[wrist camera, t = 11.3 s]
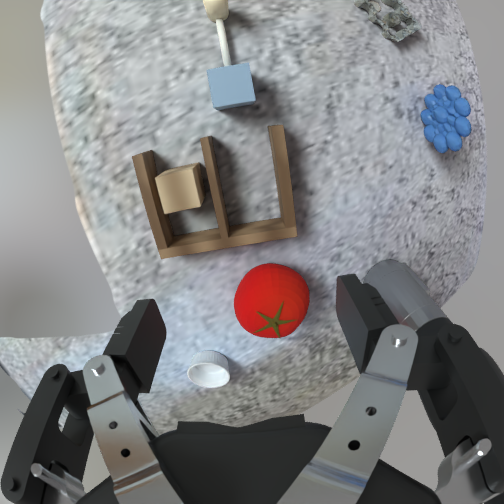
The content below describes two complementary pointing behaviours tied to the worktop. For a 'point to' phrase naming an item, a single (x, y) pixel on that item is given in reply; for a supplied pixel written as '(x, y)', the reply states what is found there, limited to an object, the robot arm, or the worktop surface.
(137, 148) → the worktop surface
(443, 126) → the grapes
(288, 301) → the tomato
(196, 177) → the plain oak block
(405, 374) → the robot arm
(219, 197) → the lane rack
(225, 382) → the ramekin
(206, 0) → the tethered block
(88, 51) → the worktop surface
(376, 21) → the egg carton
